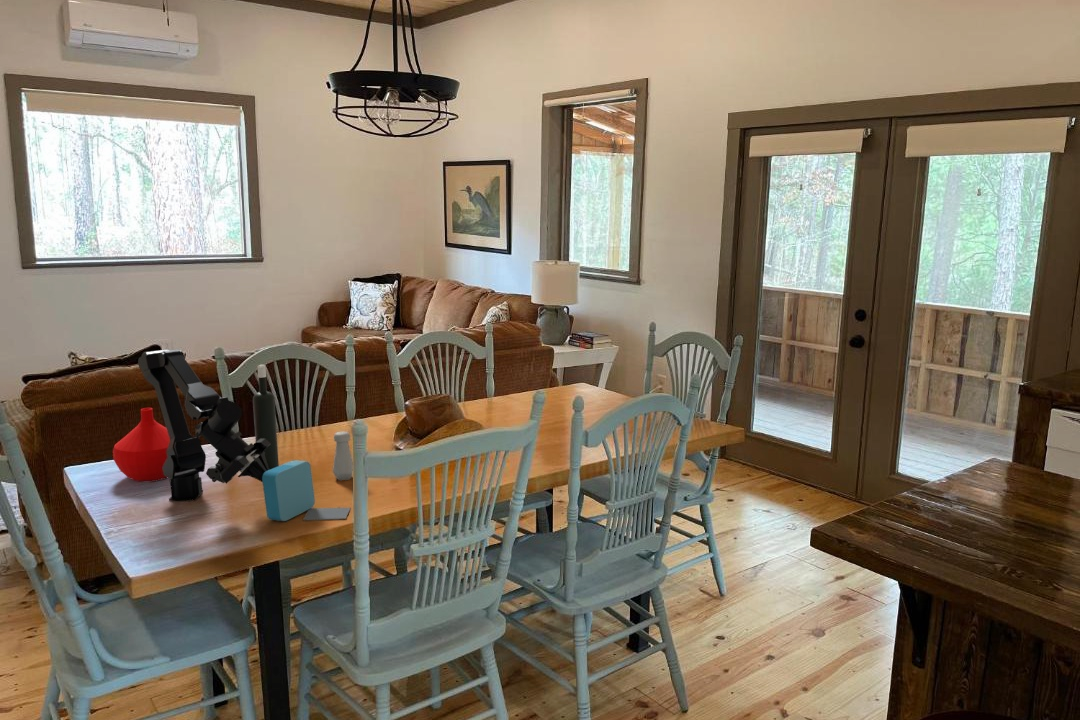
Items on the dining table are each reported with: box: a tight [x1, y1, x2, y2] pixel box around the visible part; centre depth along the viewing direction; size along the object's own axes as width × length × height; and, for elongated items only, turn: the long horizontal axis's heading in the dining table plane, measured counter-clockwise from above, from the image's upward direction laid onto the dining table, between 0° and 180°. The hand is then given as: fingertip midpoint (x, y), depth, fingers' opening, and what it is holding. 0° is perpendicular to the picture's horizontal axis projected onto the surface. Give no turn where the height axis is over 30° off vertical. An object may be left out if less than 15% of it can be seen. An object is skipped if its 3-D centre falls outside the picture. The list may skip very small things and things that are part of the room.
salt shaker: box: [332, 430, 354, 481], centre depth 221 cm, size 6×6×13 cm
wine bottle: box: [252, 364, 280, 470], centre depth 228 cm, size 6×6×30 cm
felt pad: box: [303, 507, 351, 521], centre depth 196 cm, size 10×7×1 cm
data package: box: [262, 459, 316, 522], centre depth 195 cm, size 12×4×12 cm, turn 155°
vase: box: [112, 407, 170, 482], centre depth 222 cm, size 18×18×19 cm
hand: (272, 483), depth 194 cm, fingers closed
